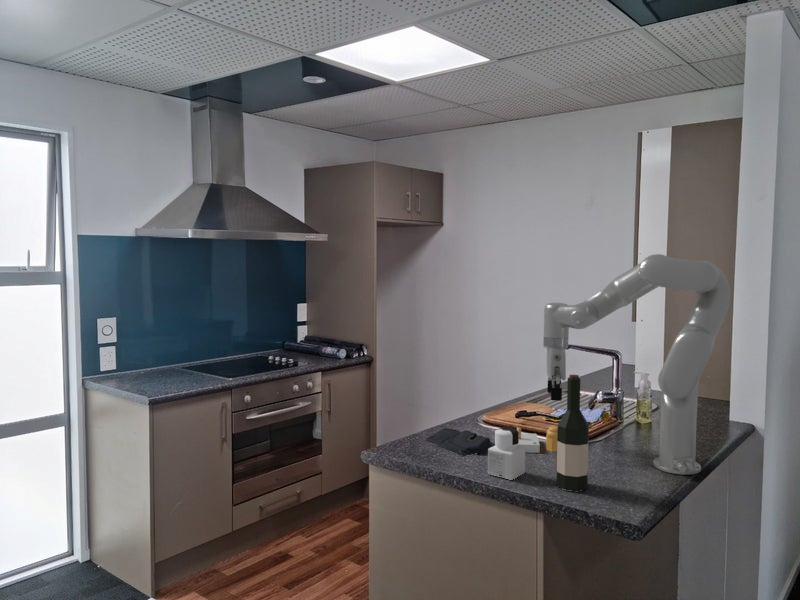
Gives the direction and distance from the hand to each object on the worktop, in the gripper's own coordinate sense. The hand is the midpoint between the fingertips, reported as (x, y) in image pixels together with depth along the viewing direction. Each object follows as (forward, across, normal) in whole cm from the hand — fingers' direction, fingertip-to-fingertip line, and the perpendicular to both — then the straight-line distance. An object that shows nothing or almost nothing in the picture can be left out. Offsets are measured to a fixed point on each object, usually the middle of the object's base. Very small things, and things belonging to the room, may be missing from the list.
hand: (554, 396), depth 196 cm
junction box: (+17, +5, +10) cm, 21 cm away
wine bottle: (+17, -31, -2) cm, 36 cm away
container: (+17, -24, +16) cm, 34 cm away
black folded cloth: (+18, +2, +29) cm, 34 cm away
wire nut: (+17, 0, 0) cm, 17 cm away
